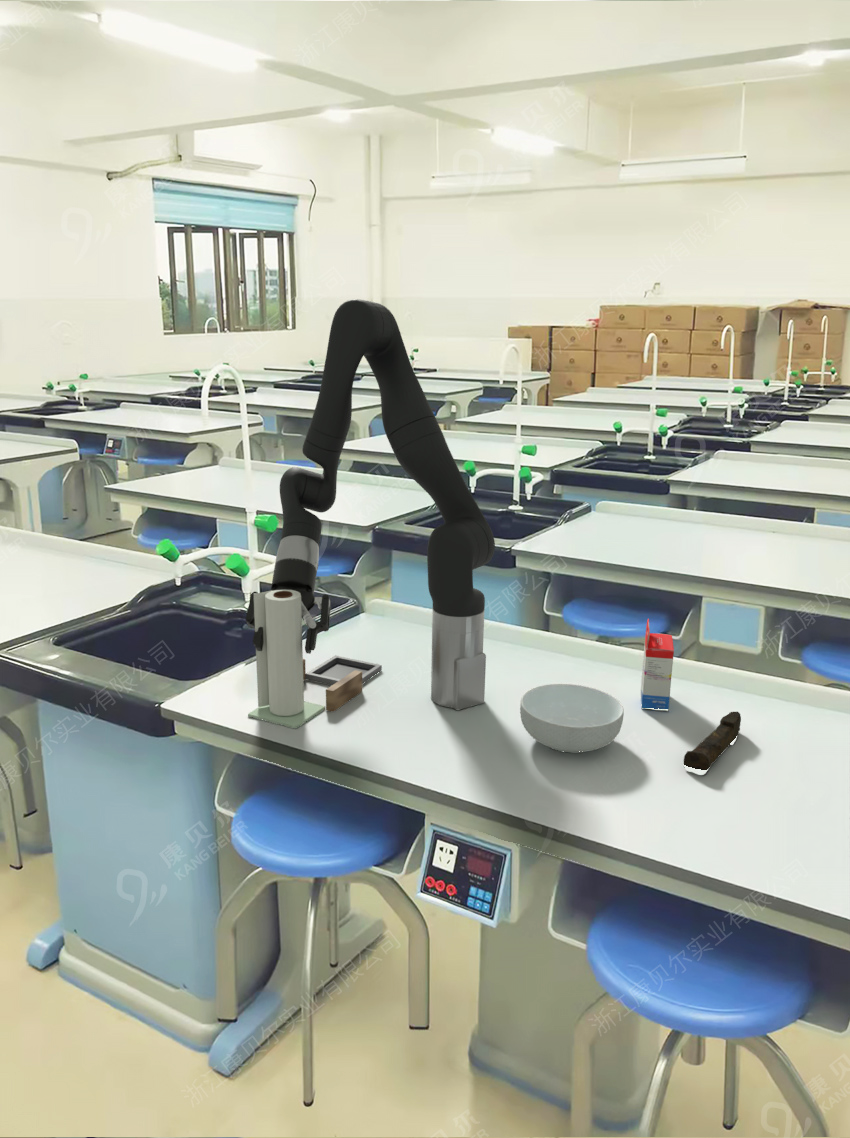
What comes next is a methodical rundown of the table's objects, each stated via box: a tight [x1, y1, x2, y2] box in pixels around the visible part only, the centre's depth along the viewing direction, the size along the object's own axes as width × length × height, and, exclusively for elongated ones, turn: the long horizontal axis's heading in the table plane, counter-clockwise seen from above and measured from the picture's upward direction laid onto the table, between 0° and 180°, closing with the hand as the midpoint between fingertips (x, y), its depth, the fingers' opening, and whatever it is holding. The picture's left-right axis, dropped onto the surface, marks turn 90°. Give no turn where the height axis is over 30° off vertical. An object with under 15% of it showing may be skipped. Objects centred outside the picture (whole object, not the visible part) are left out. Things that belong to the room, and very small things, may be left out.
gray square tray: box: [305, 655, 383, 686], centre depth 178 cm, size 11×11×1 cm
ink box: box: [640, 618, 675, 710], centre depth 166 cm, size 8×5×15 cm, turn 168°
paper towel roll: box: [254, 590, 305, 716], centre depth 159 cm, size 7×6×21 cm
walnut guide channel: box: [303, 658, 363, 713], centre depth 169 cm, size 10×14×4 cm
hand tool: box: [683, 711, 742, 770], centre depth 149 cm, size 19×4×5 cm, turn 140°
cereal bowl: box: [519, 683, 625, 753], centre depth 152 cm, size 17×17×7 cm
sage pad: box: [247, 700, 326, 729], centre depth 162 cm, size 9×10×1 cm
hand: (283, 650), depth 157 cm, fingers open, 8 cm apart
